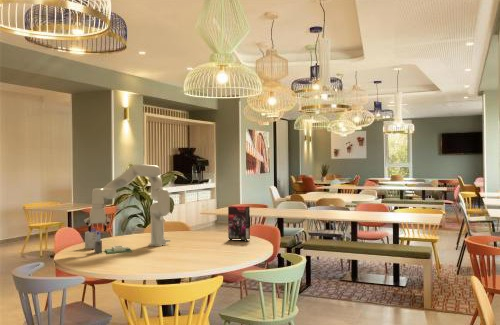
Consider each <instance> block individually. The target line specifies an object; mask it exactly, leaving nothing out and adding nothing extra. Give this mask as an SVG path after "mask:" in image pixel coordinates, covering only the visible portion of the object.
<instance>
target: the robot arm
mask: <svg viewBox="0 0 500 325" xmlns="http://www.w3.org/2000/svg"><path fill="white" fill-rule="evenodd" d="M161 172H162V171H161V168H160V166H158V165H154V164H153V165H152V164H143V163H136V164H132V165H131V166H129V168H127V169H126V170H125V171H124V172H122V173H121V175H118V176H117V177H116V178H115V179H113V180H111V181H110V182H108V183H106V185H104V186H103V187H102V188H96V187H95V188H93V189H92V198H91V199H92V200H91V208H90V211H89V217H87V218H84V219H83V221H84V222H85V224H86V226H88V228H87V231H89V232H91V229H92V227H91V225H93V224H104V225H103V232H107V231H108V230H107V226H108V225H109V224H110V223H111V218H109V217H108V216H106V207H107V204H104V203H105V200H106V199H108V200H112V199H114V198H116V197H117V190H119V189H121V188H124V187H126V186H129V184H130V183H132V182H133V181H134V180H136V178H138V177H146V178H148V180H149V182H150V198H151V199H152V200H153V201H155V202H153V203H152V204H151V205H150V207H149V215H150V242H149V243H148V246H149V247H163V246H166V245H167V243H170V242H171V239H170V238H168V239H166V238H165V219H164V217H167V216H168V215H169V213H170V210H171V208H170V207H171V206H170V205H171V203H170V202H171V201H170V200H171V197H170V193H169V190H167V189H166V188H164V187H163V180H162V179H163V178H162V177H161V175H160V174H161ZM106 220H107V221H106ZM88 221H89V222H88ZM162 245H163V246H162Z"/></svg>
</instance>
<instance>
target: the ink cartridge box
mask: <svg viewBox="0 0 500 325" xmlns="http://www.w3.org/2000/svg"><path fill="white" fill-rule="evenodd" d="M101 234H102V231H101V230H97V227H91V232H89V231H88V230H87V231H84V249H86V250H88V249H89V250H92V249H93V250H95V240H101V239H102V238H101V236H102V235H101ZM101 241H102V240H101Z"/></svg>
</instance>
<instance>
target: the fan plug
mask: <svg viewBox="0 0 500 325" xmlns="http://www.w3.org/2000/svg"><path fill="white" fill-rule="evenodd" d="M102 242H103V241H102V240H95V249H94V254H102V253H103V243H102Z"/></svg>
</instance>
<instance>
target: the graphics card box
mask: <svg viewBox="0 0 500 325" xmlns="http://www.w3.org/2000/svg"><path fill="white" fill-rule="evenodd" d="M227 211H228V212H227V213H228V214H227V215H228V216H227V218H228V221H227V222H228V225H227V226H228V228H227V229H228V231H227V232H228V234H227V235H228V236H227V237H228V238H229V239H241V240H247V239H250V240H251V238H250V237H251V234H250V233H251V232H250V231H251V227H250V226H251V225H250V221H251V220H250V217H251V216H250V213H251V212H250V206H248V205H247V206H246V205H244V206H243V205H229V206H227Z"/></svg>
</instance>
